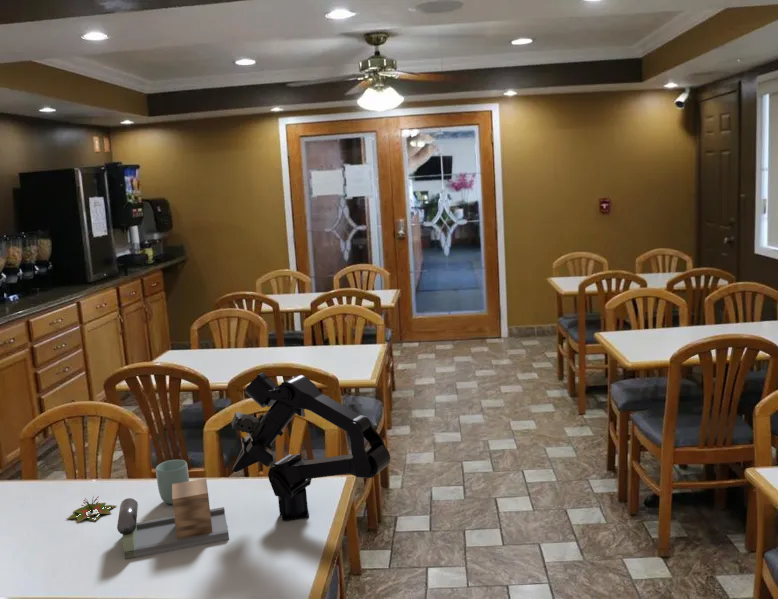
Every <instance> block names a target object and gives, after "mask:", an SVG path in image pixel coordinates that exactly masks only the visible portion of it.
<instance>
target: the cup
mask: <svg viewBox="0 0 778 599" xmlns="http://www.w3.org/2000/svg"><path fill="white" fill-rule="evenodd" d="M155 476H156V483H157V488H158V494H159V496H160V499H161V500H162V502H164V503H165V504H167V505H173V500H172V484H176V483H181V482H187V481H190V476H189V469H188V463H187V461H186V460H183V459H170V460H166V461H163V462H161V463H159V464H158V465H157V466H156V467H155Z"/></svg>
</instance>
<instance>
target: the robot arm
mask: <svg viewBox="0 0 778 599" xmlns="http://www.w3.org/2000/svg"><path fill="white" fill-rule="evenodd" d="M244 390H245V391H244V392H245V394H246V395H247V396H248V397H249V398H250V399H252V400H253V401H254V402H255V403H256V404H257V405H258V406H260V407H261V408H266V407H267V408H269V409H268V410H267V411H266V412H265V413H262V414H261V413H260V414H259V416H258V417H255V416H253V415H250V414H246V413H243V412H240V411H235V412H234V416H233V417H232V421H231V424H230V425H231V429H232V430H234V431H236V432H241V433H246V434H247V435H246V436H245V437H243V436H242V437H241V440H240V441H241V449H240V452H239V454H238V456H237V458H236V461H235V462H234V465H233V466H232V471H233V472H234V473H238V472H241V471H242V470H245V469H246V468H247V467H248V468H249V467H250V466H253V465H254V464H256V463H261V464H262V465H263V466H265V467H267V468H269V469H268V473H267V476H268V481H269V483H270V486H271V489H272V491H273V493H274V496H275V497H277V500H278V508H279V509H278V510H279V516H281V519H282V520H281V521H283V522H285V521H291V520H297V519H298V520H299V519H306V518H309V517H310V512H309V507H308V506H309V505H308V497H307V489H306V488H307V487H308V486H310V485H311V482H312V479H318V478H320V479H321V478H327V477H335V476H343V475H352V476H353V477H355V478H361V479H371V478H374V477H375V476H376V475H378V474H379V473H380V472H382V471H383V470H384V469H386V468H387V467H388V466H389V465H390V463H391V454H390V452H389V450H388V449H387V447H386V445H385V441H384V439H383V437H382V436H381V435H380V433H378V431H377V430H376V429H375V428H374V427H373V425H372V423H371V420H370V419H369V417H368V416H365V415H361V414H360V413H357V412H356V411H354V410H352V409H350V408H348V407H347V406H345V405H343V404H342V403H341V402H338V401H336V400H335V399H333V398H331V397H329V396H327V395H325V394H324V393H322V392H321V391H320V390H319V389H318V387H317V385H316V384H315V383H314V382H313V381H312V380H310V379H309V378H308V377H306V376H305V375H302V374H298V375H296V376H293V377H291V378H289V379H288V380H287V379H286V380H285V381H282V382H281V383H280V384H279V385H277V384H276V382H274V381H273V380H272V379H270V378H269V377H268V375H267V374H266V373H265V372H260V373H258V374H257V376H256V377H255V378H254V379H253V380H252V381H251V382H250V383H249V384H248V385H247V386H246V388H245V389H244ZM305 410H307V411H310V412H311V413H313V414H315V415H316V416H319V417H320V418H322V419H324V420H326V421H327V422H329V423H331V425H332V424H333V425H334V426H336V427H338V428H339V429H341V430H343V431H344V432H346V433H347V434H348V437H349V440H350V450H351V453H350V454H343V455H342V454H341V455H336V456H328V457H321V458H315V459H307V460H305V458H302V453H301V452H298V453H296V454H291V453H289V454H287V455H285V456H284V457H282V458H281V459H279V460H277V461H276V462H274V455H273V452H272V450H271V449H272V448H273V443H274V441H276V439H277V437H279V436H280V437H282V436H283V434H284V429H285V428H286V427H287V425H288V424H289V423H290V422H291V420H292V419H293V418H294V417H295V416H296V415H298V417H301V418H305V417H306V413H305ZM365 440H366V441H367V442H368V443H369V446H367V447H365ZM273 462H274V463H273ZM272 463H273V466H271V467H270V465H271V464H272Z"/></svg>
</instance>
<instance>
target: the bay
mask: <svg viewBox="0 0 778 599" xmlns="http://www.w3.org/2000/svg"><path fill="white" fill-rule="evenodd" d="M138 506H139V504H138V501H137V500H135V499H134V498H132V497H131V498H130V497H128V498H125V499H124V500H122V501H121V503H120V506H119V510H118V511H119V513H118V518H117V523H116V524H117V526H116V528H117V532H118V533H120V535H122V538H121V540H122V547H123V553H124V554H123V555H124V560H129V559H133V558H139V557H145V556H149V555H150V556H151V555H154V554H155V555H156V554H160V553H166V552H170V551H175V550H180V549H186V548H191V547H197V546H201V545H206V543H207V544H211V543H218V542H222V541H223V542H224V541H226V540H230V536H229V529H228V525H227V518H226V511H225V507H224V506H223V507H217V508H210V514H211V523H212V532H213V533H208V534H203V535H198V536H193V537H187V538H182V539H177V533H176V525H175V517H174V515H173V516H167V517H163V518H157V519H152V520H146V521H145V520H144V521H140V522H137V521H138V520H137V519H138V510H139V507H138Z"/></svg>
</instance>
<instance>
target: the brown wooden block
mask: <svg viewBox="0 0 778 599" xmlns="http://www.w3.org/2000/svg"><path fill="white" fill-rule="evenodd" d="M207 482H208V481H207V477H206V478H200V479H199V478H198V479H195V480H189V481H187V482H181V483H176V484H172V500H173V504H172V508H173V514H174V515H173V516H174V517H175V525H176V533H177V539H182V538H187V537H193V536H198V535H203V534H208V533H213V532H212V523H211V514H210V509H211V506H210V498H209V497H210V496H209V491H208V483H207Z"/></svg>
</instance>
